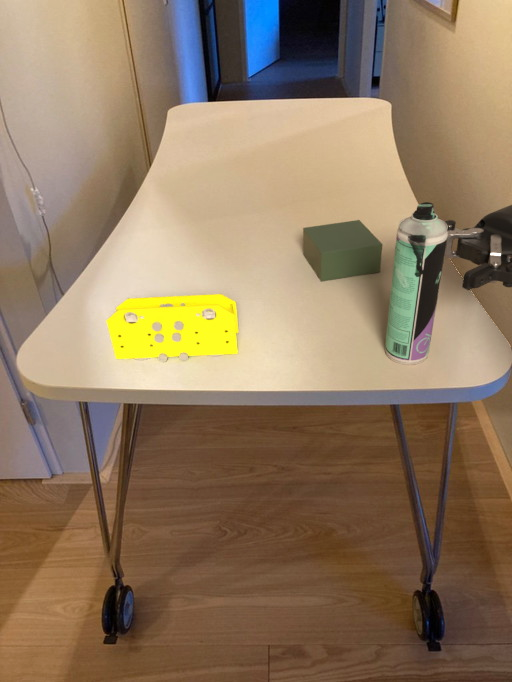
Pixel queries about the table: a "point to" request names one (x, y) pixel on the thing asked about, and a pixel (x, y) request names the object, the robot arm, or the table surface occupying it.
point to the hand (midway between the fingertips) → (436, 268)
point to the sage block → (341, 250)
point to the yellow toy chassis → (174, 327)
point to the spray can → (415, 285)
